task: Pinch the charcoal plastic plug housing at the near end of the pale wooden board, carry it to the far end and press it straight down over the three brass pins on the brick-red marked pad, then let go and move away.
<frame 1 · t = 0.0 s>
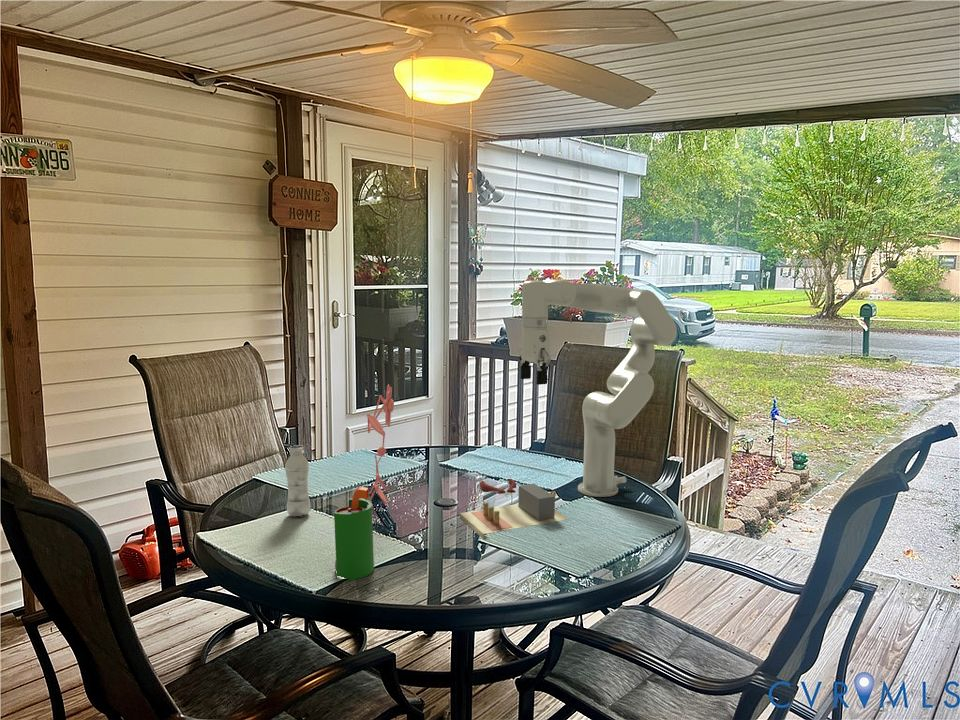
hand: (533, 381, 200), 37 cm above the table, tool pointing down, fingers open, 9 cm apart
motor: (354, 570, 160), on the table
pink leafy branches: (391, 499, 207), on the table
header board: (513, 521, 190), on the table
plug housing: (535, 512, 193), point 1 cm above the table, touching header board
pliers: (498, 496, 212), on the table
plastic bottle: (298, 516, 193), on the table
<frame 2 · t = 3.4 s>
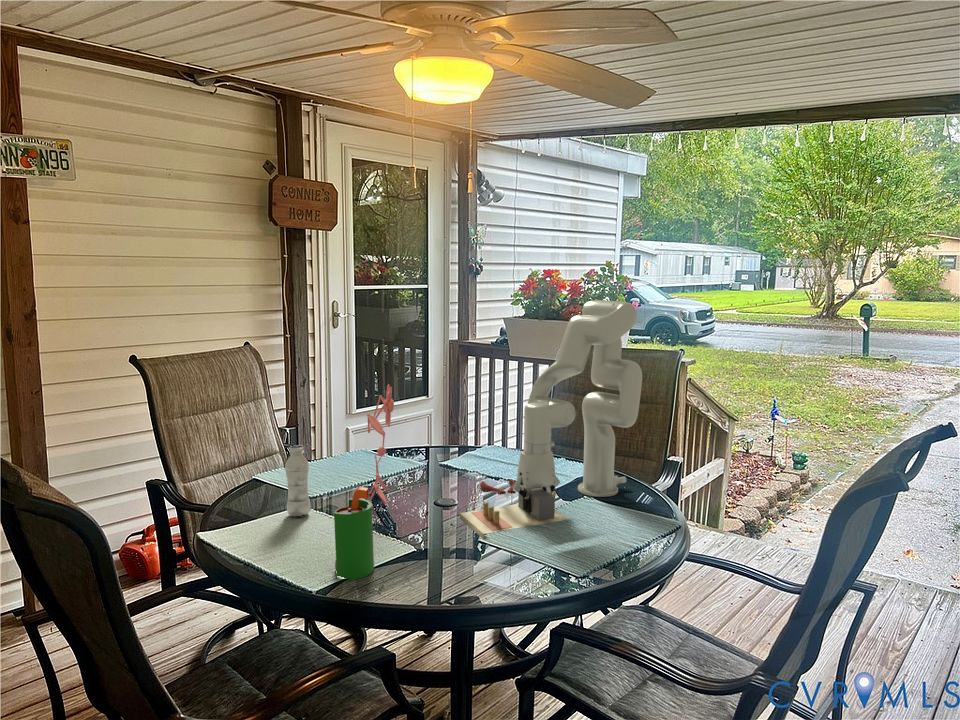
hand: (536, 509, 193), 2 cm above the table, tool pointing down, fingers closed on plug housing, 5 cm apart
plug housing: (535, 512, 193), point 2 cm above the table, touching gripper, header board
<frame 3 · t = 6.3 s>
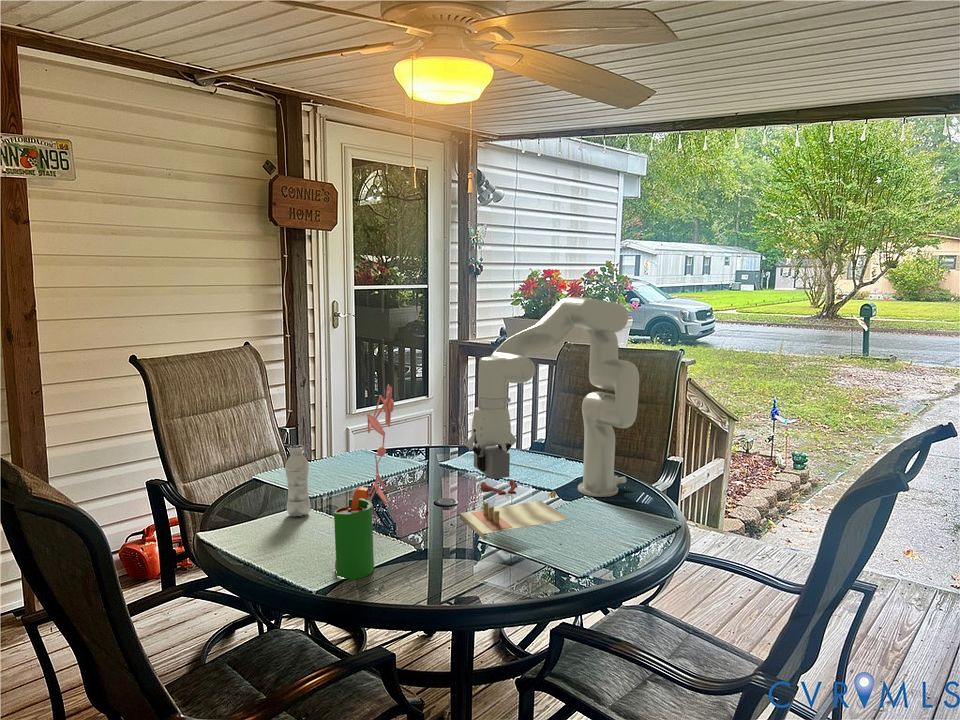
hand: (491, 468, 185), 16 cm above the table, tool pointing down, fingers closed on plug housing, 5 cm apart
plug housing: (491, 471, 185), point 15 cm above the table, touching gripper
when the fingers open (3 cm above the table, at t = 9.4 s): plug housing stays where it is, resting on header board.
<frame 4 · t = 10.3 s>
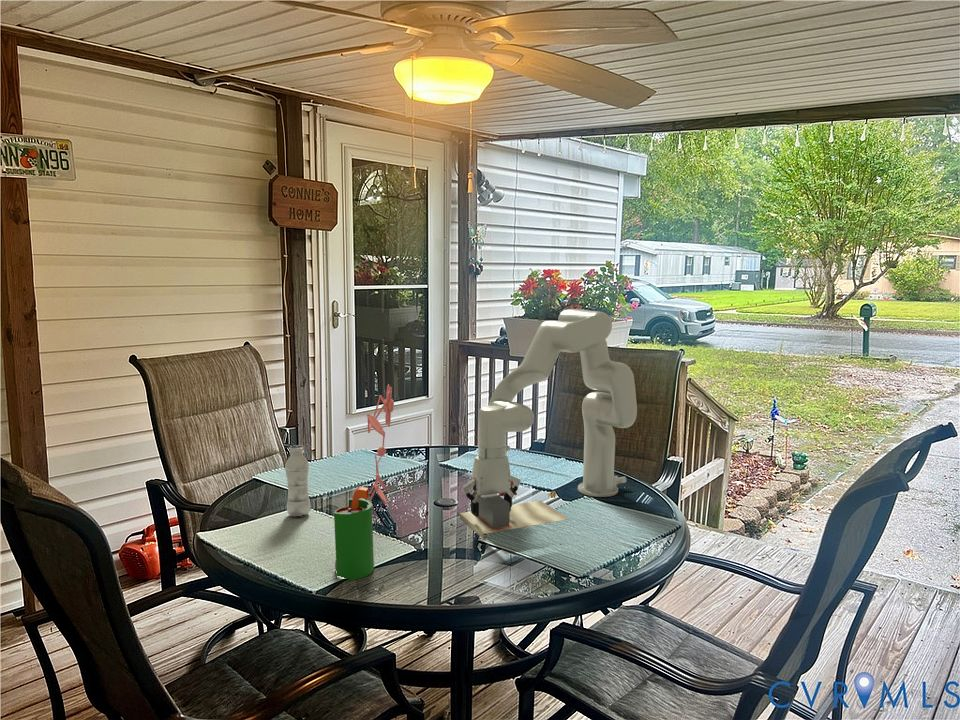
hand: (491, 512, 187), 4 cm above the table, tool pointing down, fingers open, 9 cm apart
plug housing: (491, 519, 187), point 2 cm above the table, touching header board
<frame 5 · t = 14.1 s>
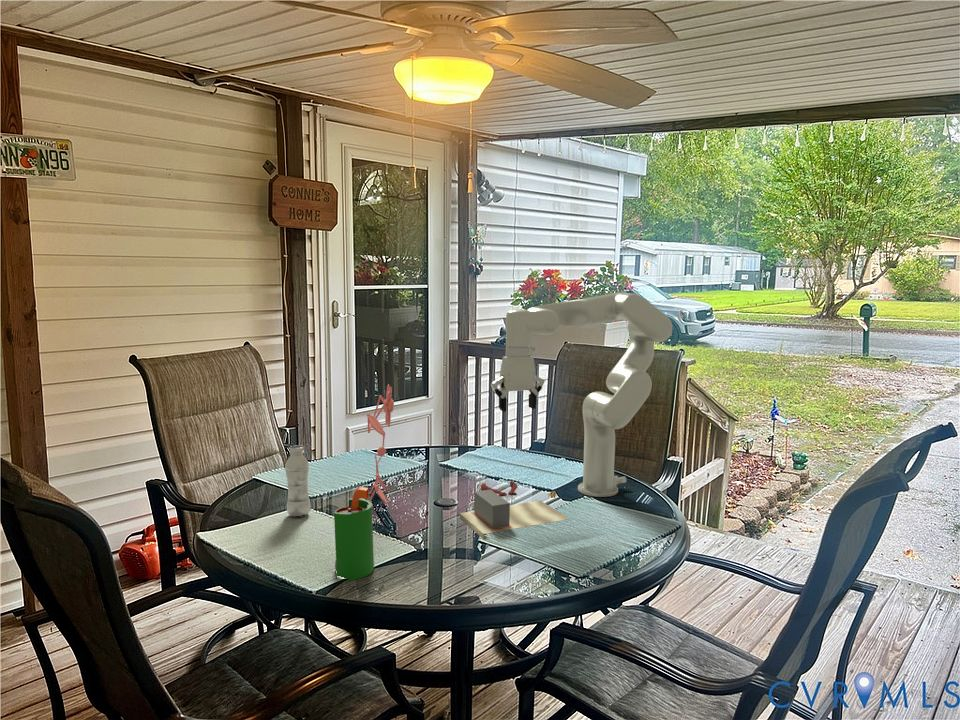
hand: (517, 409, 202), 28 cm above the table, tool pointing down, fingers open, 9 cm apart
at the end: plug housing 0.1 cm from the target spot on the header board, point 1.6 cm above the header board's base; plug housing tilted 0°; the gripper is holding nothing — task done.
